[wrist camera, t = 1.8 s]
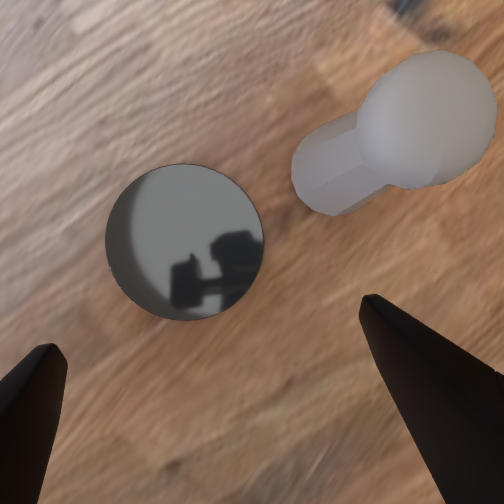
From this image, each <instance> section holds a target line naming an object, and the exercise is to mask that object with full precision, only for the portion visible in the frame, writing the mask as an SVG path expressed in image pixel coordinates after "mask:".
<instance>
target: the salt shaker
mask: <svg viewBox="0 0 504 504" xmlns="http://www.w3.org/2000/svg"><path fill="white" fill-rule="evenodd" d="M497 109H498V105H497V102H496V99H495V96H494V94H493V91H492V88H491V85H490V82H489V79H488V78H487V77H486V76H485V75H484V74H483V73H482V72H481V71H480V69H479V68H478V67H477V66H476V65H475V64H474V63H473V62H472V61H471V60H470V59H469V58H467V57H463V56H460V55H457V54H454V53H451V52H448V51H445V50H437V51H431V52H424V53H418V54H413V55H412V56H410V57H408V58H407V59H405V60H403V61H402V62H400V63H399V64H398V65H396V66H395V67H394V68H392V69H391V70H390V71H388V72H387V73H386V74H384V75H383V76H382V77H380V78H379V79H378V80H377V81H376V83H375V84H374V85H373V86H372V88H371V89H370V91H369V93H368V95H367V96H366V98H365V100H364V102H363V104H362V105H361V107H360V109H358V110H355V111H353V112H351V113H348V114H346V115H344V116H341V117H339V118H337V119H334V120H332V121H330V122H327V123H325V124H323V125H320V126H318V127H317V128H316V129H315V130H313V131H312V132H311V133H309V134H308V135H307V136H305V137H304V138H303V139H302V141H301V142H300V144H299V146H298V148H297V149H296V151H295V153H294V155H293V156H292V175H291V180H292V182H293V185H294V188H295V190H296V193H297V195H298V198H300V199H301V200H302V201H303V202H304V203H305V204H306V205H307V206H309V207H310V208H311V209H312V210H313V211H316V212H320V213H323V214H326V215H330V216H338V215H343V214H349V213H353V212H355V211H356V210H358V209H359V208H360V207H362V206H363V205H365V204H366V203H368V202H369V201H371V200H372V199H374V198H375V197H377V196H378V195H380V194H381V193H383V192H385V191H386V190H388V189H390V188H391V187H393V186H394V185H395V186H398V187H401V188H404V189H408V190H409V189H418V188H423V187H428V186H434V185H439V184H444V183H447V182H449V181H451V180H453V179H455V178H457V177H458V176H460V175H461V174H463V173H464V172H465V171H467V170H468V169H470V168H471V167H472V166H474V165H475V164H477V163H478V162H480V160H481V159H482V157H483V155H484V153H485V151H486V150H487V148H488V146H489V144H490V142H491V141H492V139H493V137H494V134H495V126H496V117H497Z"/></svg>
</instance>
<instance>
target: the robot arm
mask: <svg viewBox="0 0 504 504" xmlns="http://www.w3.org/2000/svg"><path fill="white" fill-rule="evenodd" d="M359 320H360V323H361V326H362V328H363V331H364V334H365V336H366V339H367V342H368V344H369V347H370V350H371V353H372V355H373V358H374V360H375V363H376V365H377V368H378V370H379V372H380V374H381V376H382V378H383V380H384V382H385V384H386V386H387V388H388V390H389V392H390V394H391V396H392V398H393V400H394V402H395V404H396V406H397V408H398V410H399V412H400V414H401V416H402V418H403V420H404V422H405V424H406V425H407V427H408V429H409V431H410V433H411V435H412V437H413V439H414V441H415V443H416V445H417V447H418V449H419V451H420V453H421V455H422V457H423V459H424V461H425V463H426V465H427V467H428V469H429V471H430V473H431V475H432V477H433V479H434V481H435V483H436V485H437V487H438V489H439V491H440V493H441V495H442V497H443V499H444V501H445V503H446V504H504V375H502V374H501V373H499V372H497V371H496V372H495V370H494V369H493V368H491V367H490V366H488V365H487V364H485V363H484V362H482V361H480V360H479V359H477V358H476V357H474V356H473V355H471V354H470V353H468V352H467V351H465V350H463V349H462V348H460V347H459V346H457V345H456V344H454V343H453V342H451V341H450V340H448V339H446V338H445V337H443V336H442V335H440V334H439V333H437V332H436V331H434V330H432V329H431V328H429V327H428V326H426V325H425V324H423V323H422V322H420V321H419V320H417V319H415V318H414V317H412V316H411V315H409V314H408V313H406V312H405V311H403V310H402V309H400V308H398V307H397V306H395V305H394V304H392V303H391V302H389V301H388V300H386V299H385V298H383V297H381V296H380V295H378V294H371V295H365V296H364V297H363V298H362V302H361V306H360V311H359ZM67 369H68V364H67V360H66V358H65V357H64V355H63V354H62V352H61V351H60V349H59V348H58V346H57V345H56V344H54V343H49V344H43V345H39V346H37V347H35V348H34V349H33V350H32V351H31V352H30V353H29V354H28V355H27V356H26V357H25V358H24V359H23V360H22V361H20V362H19V363H18V364H17V365H16V366H15V367H14V368H13V369H12V370H11V371H10V372H9V373H8V374H7V375H6V376H5V377H4V378H3V379H2V380H1V381H0V504H37V502H38V499H39V495H40V491H41V488H42V484H43V480H44V476H45V473H46V469H47V465H48V462H49V458H50V454H51V451H52V447H53V443H54V440H55V436H56V432H57V428H58V424H59V419H60V414H61V408H62V401H63V395H64V389H65V382H66V376H67Z"/></svg>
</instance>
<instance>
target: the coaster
mask: <svg viewBox="0 0 504 504" xmlns="http://www.w3.org/2000/svg"><path fill="white" fill-rule="evenodd" d="M105 247H106V255H107V259H108V263H109V266H110V269H111V271H112V274H113V276H114V278H115V280H116V281H117V283H118V285H119V286H120V287H121V289H122V290H123V291H124V293H125V294H126V295H127V296H128V297H129V298H130V299H131V300H132V301H134V302H135V303H136V304H137V305H139V306H140V307H142V308H143V309H145V310H147V311H148V312H151V313H153V314H155V315H157V316H160V317H164V318H167V319H173V320H183V321H190V320H199V319H204V318H208V317H211V316H214V315H216V314H219V313H221V312H222V311H224V310H226V309H228V308H229V307H231V306H232V305H234V304H235V303H236V302H237V301H238V300H239V299H240V298H242V297H243V295H244V294H245V293H246V292H247V291H248V290H249V288H250V286H251V285H252V283H253V282H254V280H255V278H256V276H257V274H258V271H259V268H260V265H261V262H262V257H263V248H264V239H263V230H262V225H261V221H260V218H259V216H258V213H257V211H256V209H255V207H254V205H253V203H252V202H251V200H250V199H249V197H248V196H247V194H246V193H245V192H244V191H243V190H242V189H241V188H240V187H239V186H238V185H237V184H236V183H235V182H234V181H232V180H231V179H230V178H228V177H226V176H225V175H223V174H221V173H219V172H217V171H215V170H213V169H210V168H207V167H204V166H199V165H194V164H173V165H167V166H163V167H160V168H157V169H154V170H151V171H149V172H147V173H145V174H144V175H142V176H140V177H139V178H138V179H136V180H135V181H133V182H132V183H131V184H130V185H129V186H128V187H127V188H126V189H125V190H124V191H123V193H122V194H121V195H120V196H119V198H118V200H117V201H116V203H115V204H114V206H113V209H112V211H111V213H110V216H109V219H108V223H107V228H106V234H105Z"/></svg>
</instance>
